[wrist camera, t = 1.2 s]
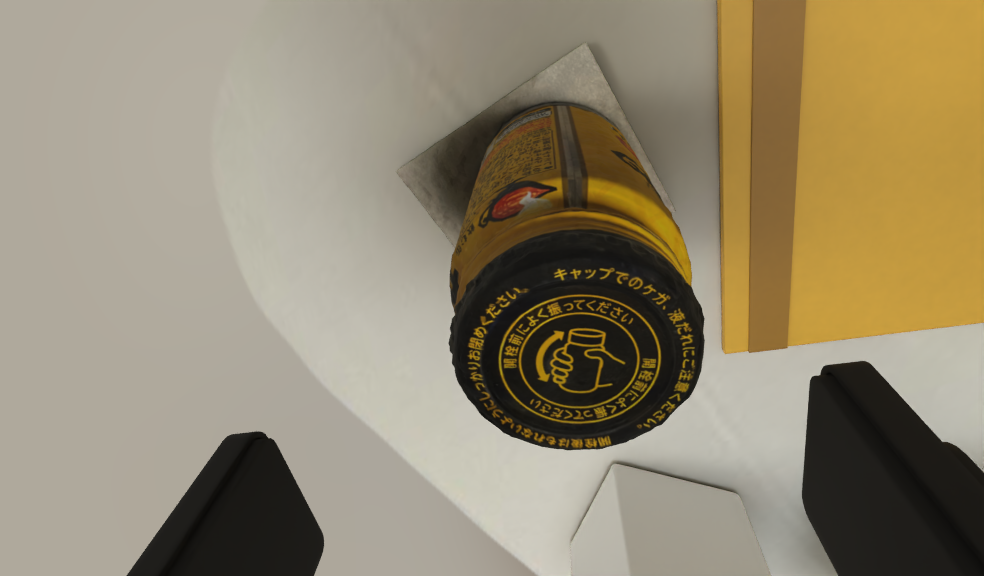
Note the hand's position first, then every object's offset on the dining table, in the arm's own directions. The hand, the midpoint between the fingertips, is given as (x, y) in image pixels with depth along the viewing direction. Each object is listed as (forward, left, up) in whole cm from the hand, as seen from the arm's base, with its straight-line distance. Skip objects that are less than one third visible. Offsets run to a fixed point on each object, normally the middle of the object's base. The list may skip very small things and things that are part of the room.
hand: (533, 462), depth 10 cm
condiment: (0, 0, -14) cm, 14 cm away
